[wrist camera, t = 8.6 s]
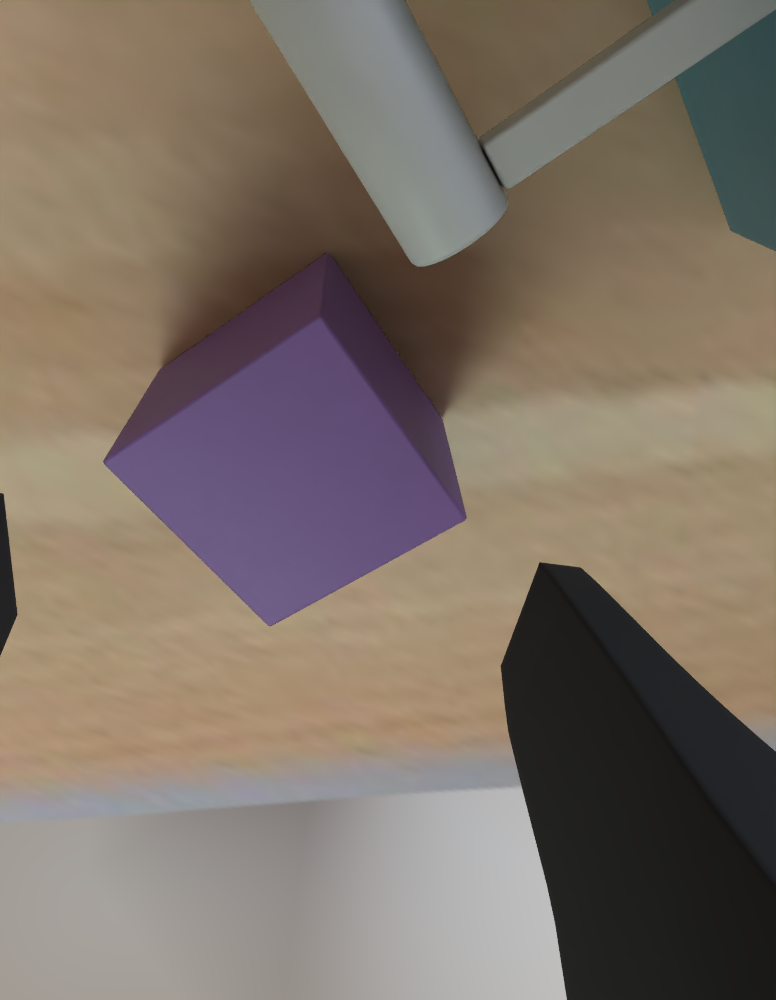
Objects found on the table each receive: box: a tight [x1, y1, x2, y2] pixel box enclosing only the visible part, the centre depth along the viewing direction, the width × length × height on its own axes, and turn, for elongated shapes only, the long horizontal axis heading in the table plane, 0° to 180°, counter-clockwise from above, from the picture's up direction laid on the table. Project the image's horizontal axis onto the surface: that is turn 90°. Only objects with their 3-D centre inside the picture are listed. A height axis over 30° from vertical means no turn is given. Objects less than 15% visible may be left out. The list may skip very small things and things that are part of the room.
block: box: [103, 253, 467, 626], centre depth 14 cm, size 4×4×4 cm
